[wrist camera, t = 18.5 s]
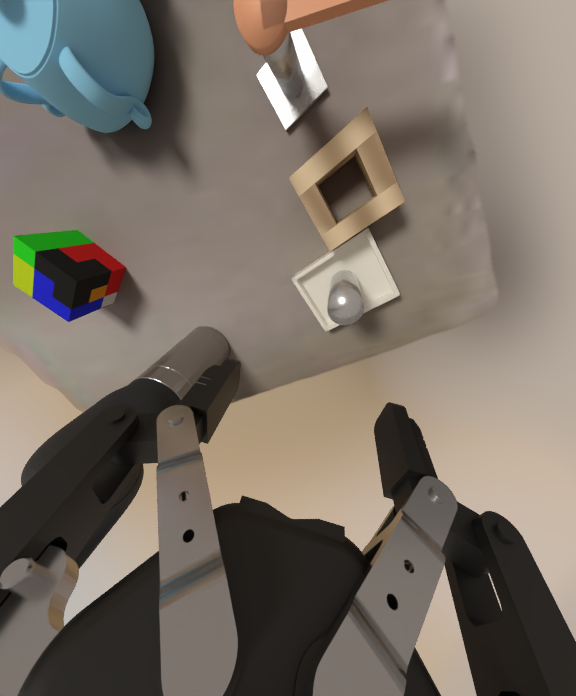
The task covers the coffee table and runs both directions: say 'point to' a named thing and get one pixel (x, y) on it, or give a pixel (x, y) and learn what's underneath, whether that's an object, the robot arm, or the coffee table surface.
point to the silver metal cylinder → (345, 298)
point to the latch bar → (286, 18)
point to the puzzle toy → (65, 272)
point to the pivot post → (292, 79)
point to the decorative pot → (79, 59)
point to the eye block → (374, 167)
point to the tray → (352, 256)
